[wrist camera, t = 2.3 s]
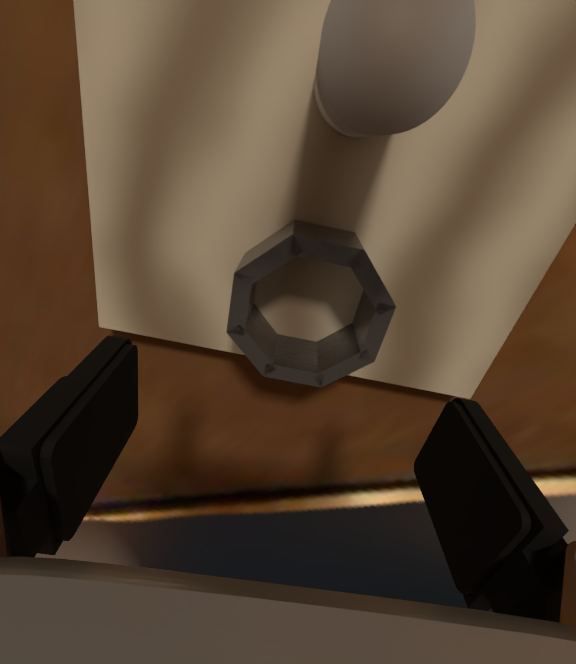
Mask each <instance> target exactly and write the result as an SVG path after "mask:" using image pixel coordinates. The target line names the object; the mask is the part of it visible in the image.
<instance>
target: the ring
mask: <svg viewBox="0 0 576 664" xmlns="http://www.w3.org/2000/svg"><path fill="white" fill-rule="evenodd" d="M296 256H299V257H304V258H309V259H313V260H318V261H323V262H328V263H332V264H337V265H342V266H346V267H351V269H352V271H353V272H354V274H355V276H356V277H357V279H358V281H359V282H360V284H361V286H362V287H363V292H362V295H361V298H360V301H359V304H358V307H357V310H356V313H355V316H354V319H353V322H352V323H351V324H349V325H347V326H345V327H343V328H342V329H340V330H338V331H336V332H334V333H332V334H330V335H328V336H326V337H325V338H323V339H321V340H319V341H317V342H316V341H311V340H306V339H300V338H295V337H290V336H285V335H280V334H277V333H276V332H275V330H274V329H273V328H272V326H271V325H270V324H269V322H268V321H267V320H266V318H265V317H264V316H263V314H262V313H261V312H260V311H259V309H258V308H257V307H256V305H255V304H254V303H253V302H254V296H255V290H256V285H257V281H258V280H259V279H261V278H263V277H264V276H266V275H267V274H269V273H270V272H272V271H274V270H275V269H277V268H278V267H280V266H281V265H283V264H285V263H286V262H288V261H289V260H291V259H293V258H294V257H296ZM395 309H396V305H395V303H394V301H393V300H392V298H391V296H390V294H389V292H388V291H387V289H386V287H385V285H384V283H383V282H382V280H381V278H380V276H379V274H378V273H377V271H376V269H375V267H374V265H373V264H372V262H371V260H370V258H369V257H368V255H367V253H366V251H365V249H364V248H363V246H362V244H361V242H360V240H359V239H358V237H357V235H356V233H355V232H351V231H346V230H341V229H337V228H332V227H328V226H323V225H319V224H314V223H310V222H305V221H300V220H296V219H294V220H293V221H291V222H290V223H289V224H287V225H286V226H284V227H283V228H281V229H280V230H278V231H277V232H275V233H274V234H272V235H271V236H269V237H268V238H266V239H265V240H263V241H262V242H260V243H259V244H257V245H256V246H254V247H253V248H251V249H250V250H248V251H247V252H245V254H244V256H243V258H242V259H241V261H240V263H239V265H238V267H237V269H236V270H235V272H234V278H233V285H232V293H231V300H230V308H229V316H228V323H227V331H226V333H227V334H228V335H229V336H230V338H231V339H232V340H233V341H234V342H235V344H236V345H237V346H238V347H239V348H240V349H241V351H242V352H243V353H244V354H245V355H246V357H247V358H248V359H249V360H250V361H251V363H252V364H253V365H254V366H255V367H256V369H257V370H258V371H259V372H260V373H261V375H262V376H263V377H268V378H273V379H279V380H284V381H289V382H294V383H299V384H305V385H310V386H315V387H320V388H321V387H323V386H325V385H328V384H330V383H332V382H334V381H336V380H338V379H340V378H342V377H344V376H346V375H348V374H350V373H352V372H354V371H357V370H359V369H361V368H363V367H365V366H367V365H369V364H371V363H373V362H375V359H376V357H377V354H378V352H379V349H380V347H381V344H382V342H383V339H384V337H385V334H386V332H387V329H388V326H389V324H390V321H391V319H392V316H393V314H394V311H395Z"/></svg>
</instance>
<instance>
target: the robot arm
mask: <svg viewBox="0 0 576 664" xmlns="http://www.w3.org/2000/svg"><path fill="white" fill-rule="evenodd" d="M137 420H138V350H137V346H136V345H132V342H131V340H130V339H126V338H121V337H115V336H107V337H106V338H105V339H104V340H103V341H102V342H101V343H100V344H99V345H98V346H97V347H96V348H95V349H94V350H93V351H92V352H91V353H90V354H89V355H88V356H87V357H86V358H85V359H84V360H83V361H82V362H81V363H80V364H79V365H78V366H77V367H76V368H75V369H74V370H73V371H72V372H71V373H70V374H69V375H68V376H65V377H62V378H60V379H59V380H58V381H57V382H56V383H55V384H54V385H53V386H52V387H51V388H50V389H49V390H48V391H47V392H46V393H45V394H44V395H43V396H42V397H41V398H40V399H39V400H38V401H37V402H36V403H35V404H34V405H33V406H31V407H30V408H29V409H28V410H27V411H26V412H25V413H24V414H23V415H22V416H21V417H20V418H19V419H18V420H17V421H16V422H15V423H14V424H13V425H12V426H11V427H10V428H9V429H8V430H7V431H6V432H5V433H4V434H3V435H2V436H1V437H0V664H576V541H573V542H571V543H569V544H567V543H566V542H565V540H564V539H563V536H564V535H565V534H566V533H567V532H568V531H569V530H568V529H567V528H566V526H565V525H564V523H563V522H562V521H561V519H560V518H559V516H558V515H557V514H556V512H555V511H554V509H553V508H552V506H551V505H550V504H549V502H548V501H547V499H546V498H545V497H544V495H543V494H542V492H541V491H540V489H539V488H538V487H537V485H536V484H535V482H534V481H533V480H532V478H531V477H530V475H529V474H528V473H527V471H526V470H525V468H524V467H523V465H522V464H521V463H520V461H519V460H518V458H517V457H516V456H515V454H514V453H513V451H512V450H511V449H510V447H509V446H508V444H507V443H506V441H505V440H504V439H503V437H502V436H501V434H500V433H499V432H498V430H497V429H496V427H495V426H494V425H493V423H492V422H491V420H490V419H489V418H488V416H487V415H486V413H485V412H484V410H483V409H482V408H481V406H480V405H479V404H478V403H477V402H476V401H472V400H466V399H461V398H455V399H454V400H452V402H448V403H447V404H446V405H445V407H444V409H443V411H442V413H441V414H440V416H439V418H438V420H437V422H436V424H435V425H434V427H433V429H432V431H431V433H430V434H429V436H428V438H427V440H426V442H425V444H424V445H423V447H422V449H421V451H420V453H419V454H418V456H417V458H416V460H415V463H414V472H415V475H416V478H417V481H418V484H419V486H420V489H421V492H422V495H423V497H424V500H425V503H426V506H427V508H428V511H429V514H430V517H431V519H432V522H433V525H434V528H435V530H436V533H437V536H438V538H439V541H440V544H441V547H442V550H443V552H444V555H445V558H446V561H447V563H448V566H449V569H450V572H451V575H452V577H453V580H454V582H455V585H456V587H457V589H458V590H459V591H460V592H461V593H463V595H464V598H465V601H466V604H467V606H468V608H470V609H465V608H457V607H450V606H442V605H435V604H428V603H419V602H412V601H405V600H397V599H390V598H383V597H375V596H366V595H358V594H352V593H344V592H336V591H328V590H321V589H312V588H305V587H297V586H289V585H281V584H273V583H266V582H258V581H250V580H242V579H233V578H225V577H217V576H209V575H200V574H193V573H184V572H176V571H168V570H160V569H151V568H144V567H135V566H134V567H133V566H124V565H115V564H106V563H95V562H87V561H77V560H67V559H54V558H35V555H36V554H37V553H41V554H49V555H55V554H56V552H57V550H58V548H59V547H60V545H61V543H62V542H63V540H64V541H69V540H70V539H71V538H72V537H73V536H74V534H75V532H76V531H77V529H78V527H79V525H80V524H81V522H82V520H83V518H84V517H85V515H86V513H87V511H88V510H89V508H90V506H91V504H92V502H93V501H94V499H95V497H96V495H97V494H98V492H99V490H100V488H101V487H102V485H103V483H104V481H105V480H106V478H107V476H108V474H109V473H110V471H111V469H112V467H113V466H114V464H115V462H116V460H117V458H118V457H119V455H120V453H121V451H122V450H123V448H124V446H125V444H126V443H127V441H128V439H129V437H130V436H131V434H132V432H133V430H134V428H135V426H136V424H137ZM491 608H492V610H493V612H487V611H489V609H491ZM472 609H478V610H472ZM480 610H486V611H480Z"/></svg>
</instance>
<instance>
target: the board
mask: <svg viewBox="0 0 576 664" xmlns="http://www.w3.org/2000/svg"><path fill="white" fill-rule="evenodd" d="M74 13H75V26H76V38H77V51H78V64H79V77H80V89H81V102H82V115H83V128H84V141H85V153H86V166H87V179H88V192H89V204H90V217H91V230H92V243H93V255H94V268H95V281H96V294H97V307H98V319H99V327H103V328H108V329H113V330H118V331H123V332H129V333H134V334H139V335H144V336H149V337H154V338H159V339H165V340H170V341H175V342H180V343H185V344H190V345H195V346H201V347H206V348H211V349H216V350H221V351H226V352H231V353H237V354H242V355H245V354H244V353H243V352H242V351H241V349H240V348H239V347H238V346H237V345H236V344H235V342H234V341H233V340H232V339H231V338H230V336H229V335H228V334H227V333H226V331H227V323H228V316H229V308H230V300H231V293H232V285H233V278H234V272H235V270H236V269H237V267H238V265H239V263H240V261H241V259H242V258H243V256H244V254H245V252H247V251H248V250H250V249H251V248H253V247H254V246H256V245H257V244H259V243H260V242H262V241H263V240H265V239H266V238H268V237H269V236H271V235H272V234H274V233H275V232H277V231H278V230H280V229H281V228H283V227H284V226H286V225H287V224H289V223H290V222H291V221H293V220H294V219H296V220H300V221H305V222H310V223H314V224H319V225H323V226H328V227H332V228H337V229H341V230H346V231H351V232H355V233H356V235H357V237H358V239H359V240H360V242H361V244H362V246H363V248H364V249H365V251H366V253H367V255H368V257H369V258H370V260H371V262H372V264H373V265H374V267H375V269H376V271H377V273H378V274H379V276H380V278H381V280H382V282H383V283H384V285H385V287H386V289H387V291H388V292H389V294H390V296H391V298H392V300H393V301H394V303H395V305H396V309H395V311H394V314H393V316H392V319H391V321H390V324H389V326H388V329H387V332H386V334H385V337H384V339H383V342H382V344H381V347H380V349H379V352H378V354H377V357H376V359H375V362H373V363H371V364H369V365H367V366H365V367H363V368H361V369H359V370H357V371H354V372H352V373H350V374H348V375H350V376H355V377H360V378H365V379H370V380H375V381H381V382H386V383H391V384H396V385H401V386H406V387H411V388H416V389H422V390H427V391H432V392H437V393H442V394H447V395H452V396H458V397H463V398H468V399H470V398H471V397H472V395H473V393H474V392H475V390H476V388H477V387H478V385H479V383H480V382H481V380H482V378H483V377H484V375H485V373H486V372H487V370H488V368H489V367H490V365H491V363H492V362H493V360H494V358H495V357H496V355H497V353H498V352H499V350H500V348H501V347H502V345H503V343H504V342H505V340H506V338H507V337H508V335H509V333H510V332H511V330H512V328H513V327H514V325H515V323H516V322H517V320H518V318H519V317H520V315H521V313H522V312H523V310H524V308H525V307H526V305H527V303H528V302H529V300H530V298H531V297H532V295H533V293H534V292H535V290H536V288H537V287H538V285H539V283H540V282H541V280H542V278H543V277H544V275H545V273H546V272H547V270H548V268H549V267H550V265H551V263H552V262H553V260H554V258H555V257H556V255H557V253H558V252H559V250H560V248H561V247H562V245H563V243H564V242H565V240H566V238H567V237H568V235H569V233H570V232H571V230H572V228H573V227H574V225H575V223H576V0H74ZM362 292H363V287H362V286H361V284H360V282H359V281H358V279H357V277H356V276H355V274H354V272H353V271H352V269H351V267H346V266H342V265H337V264H332V263H328V262H323V261H318V260H313V259H309V258H304V257H299V256H296V257H294V258H293V259H291V260H289V261H288V262H286V263H285V264H283V265H281V266H280V267H278V268H277V269H275V270H274V271H272V272H270V273H269V274H267V275H266V276H264V277H263V278H261V279H259V280H258V281H257V285H256V290H255V296H254V302H253V303H254V304H255V305H256V307H257V308H258V309H259V311H260V312H261V313H262V314H263V316H264V317H265V318H266V320H267V321H268V322H269V324H270V325H271V326H272V328H273V329H274V330H275V332H276V333H277V334H280V335H285V336H290V337H295V338H300V339H306V340H311V341H316V342H317V341H319V340H321V339H323V338H325V337H326V336H328V335H330V334H332V333H334V332H336V331H338V330H340V329H342V328H343V327H345V326H347V325H349V324H351V323H352V322H353V319H354V316H355V313H356V310H357V307H358V304H359V301H360V298H361V295H362Z"/></svg>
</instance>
